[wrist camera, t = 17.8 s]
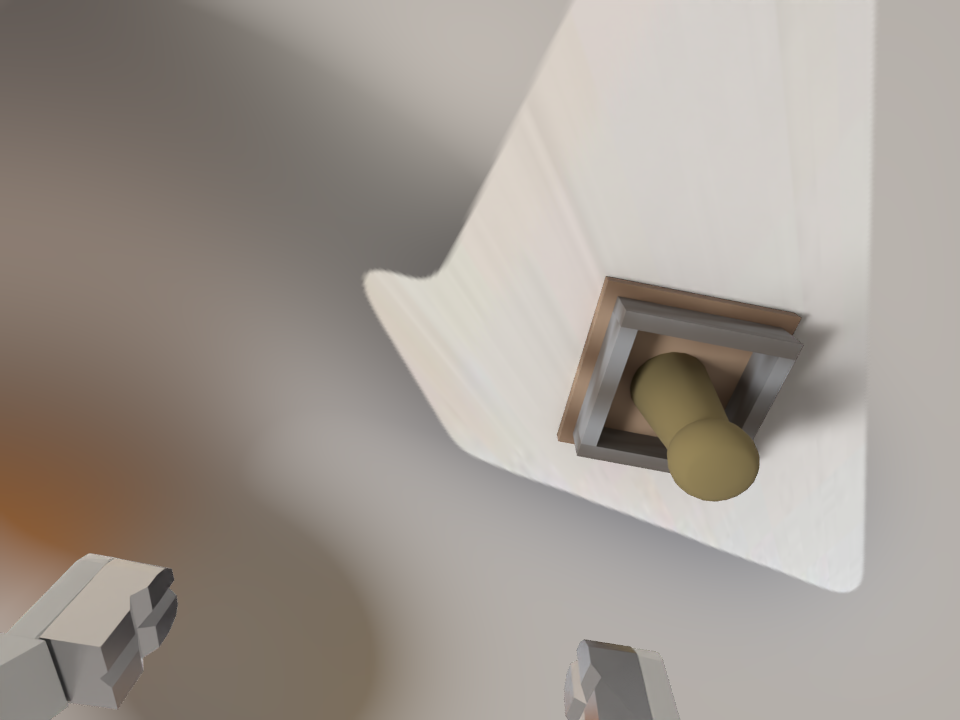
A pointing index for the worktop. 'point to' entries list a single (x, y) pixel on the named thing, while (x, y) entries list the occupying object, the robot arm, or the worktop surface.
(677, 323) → the grey-rimmed square tray
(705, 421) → the cork
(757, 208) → the worktop surface
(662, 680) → the robot arm
